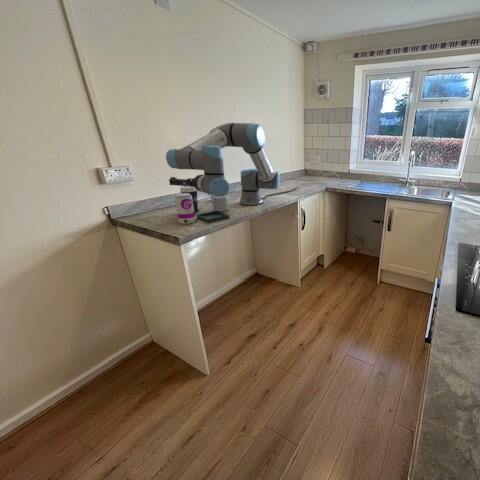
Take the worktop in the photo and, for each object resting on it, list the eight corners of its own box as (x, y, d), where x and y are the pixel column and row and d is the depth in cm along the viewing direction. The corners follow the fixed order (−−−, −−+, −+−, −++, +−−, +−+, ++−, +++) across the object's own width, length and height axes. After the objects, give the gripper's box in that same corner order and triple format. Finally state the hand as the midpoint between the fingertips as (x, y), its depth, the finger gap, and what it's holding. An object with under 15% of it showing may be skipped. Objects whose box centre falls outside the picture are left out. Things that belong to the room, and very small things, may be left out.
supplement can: (198, 222, 139) (193, 194, 133) (181, 225, 134) (176, 196, 128) (192, 218, 144) (188, 192, 139) (176, 221, 139) (171, 194, 133)
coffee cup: (196, 214, 153) (192, 188, 147) (180, 213, 153) (175, 188, 147) (203, 209, 162) (200, 185, 156) (188, 209, 162) (184, 185, 156)
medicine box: (227, 209, 164) (225, 196, 161) (227, 211, 160) (225, 197, 157) (213, 210, 161) (212, 196, 158) (213, 212, 158) (212, 198, 154)
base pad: (217, 213, 155) (217, 210, 154) (229, 218, 147) (228, 214, 146) (196, 218, 146) (196, 214, 145) (208, 223, 138) (207, 219, 137)
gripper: (175, 194, 105) (159, 188, 119) (232, 190, 122) (212, 186, 136) (172, 175, 102) (156, 172, 116) (231, 174, 120) (211, 171, 134)
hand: (186, 179), depth 126 cm, fingers open, 13 cm apart
